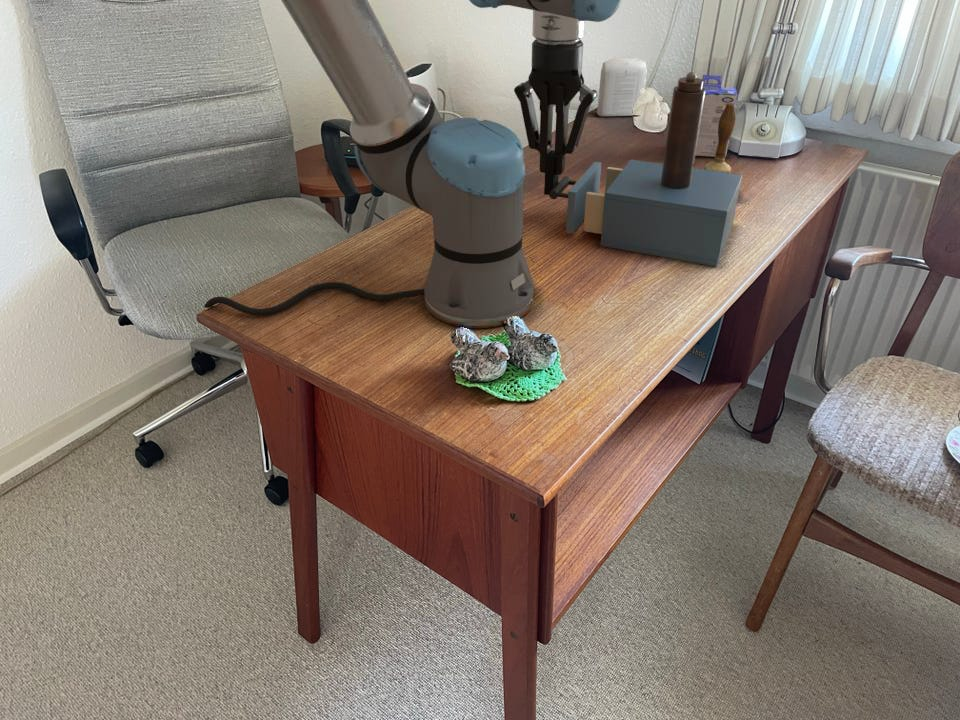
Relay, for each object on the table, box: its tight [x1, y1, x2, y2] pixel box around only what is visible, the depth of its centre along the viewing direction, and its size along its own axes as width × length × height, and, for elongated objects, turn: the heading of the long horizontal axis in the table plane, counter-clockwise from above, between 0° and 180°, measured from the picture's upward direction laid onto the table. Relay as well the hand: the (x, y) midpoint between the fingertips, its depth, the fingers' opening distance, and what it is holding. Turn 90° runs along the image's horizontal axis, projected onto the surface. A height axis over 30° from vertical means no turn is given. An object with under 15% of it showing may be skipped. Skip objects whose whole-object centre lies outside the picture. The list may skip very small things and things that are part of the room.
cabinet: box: [599, 159, 743, 267], centre depth 113 cm, size 18×15×9 cm
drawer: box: [548, 161, 624, 235], centre depth 116 cm, size 21×14×7 cm, turn 66°
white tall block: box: [596, 56, 648, 117], centre depth 163 cm, size 10×4×12 cm, turn 93°
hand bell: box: [703, 103, 737, 173], centre depth 124 cm, size 8×8×16 cm
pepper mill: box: [661, 71, 706, 189], centre depth 106 cm, size 4×4×16 cm
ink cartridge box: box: [695, 74, 738, 158], centre depth 142 cm, size 10×6×14 cm, turn 78°
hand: (551, 191), depth 120 cm, fingers closed
